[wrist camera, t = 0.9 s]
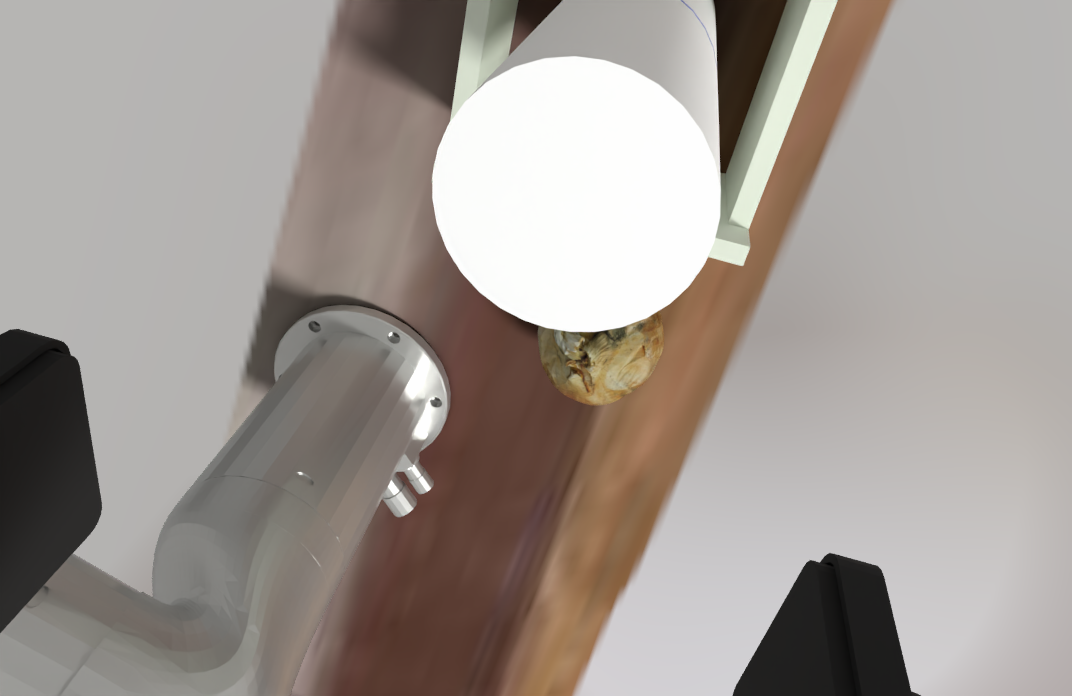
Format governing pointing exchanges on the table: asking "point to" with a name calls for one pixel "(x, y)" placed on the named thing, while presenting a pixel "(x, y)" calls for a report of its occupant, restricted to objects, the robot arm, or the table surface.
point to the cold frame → (763, 123)
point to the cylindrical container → (588, 165)
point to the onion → (601, 359)
